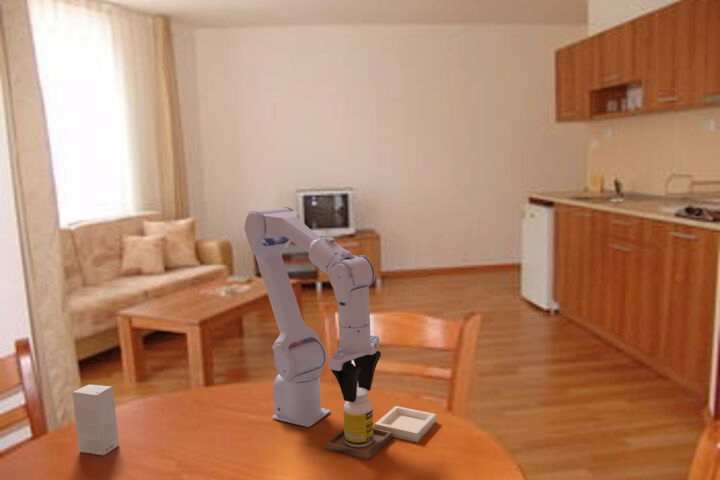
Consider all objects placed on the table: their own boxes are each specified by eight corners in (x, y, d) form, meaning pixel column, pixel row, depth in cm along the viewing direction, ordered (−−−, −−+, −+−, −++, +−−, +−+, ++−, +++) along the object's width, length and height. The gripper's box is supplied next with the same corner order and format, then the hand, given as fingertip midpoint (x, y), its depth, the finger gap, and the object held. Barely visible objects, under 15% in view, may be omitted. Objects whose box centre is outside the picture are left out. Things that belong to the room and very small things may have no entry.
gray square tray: (326, 449, 104) (326, 443, 104) (351, 428, 112) (351, 422, 112) (368, 460, 100) (368, 453, 99) (392, 438, 107) (392, 432, 107)
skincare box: (120, 445, 109) (114, 386, 107) (103, 456, 105) (96, 395, 103) (95, 441, 111) (88, 383, 109) (78, 452, 107) (71, 392, 105)
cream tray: (375, 432, 110) (374, 423, 109) (395, 414, 117) (395, 405, 117) (417, 442, 105) (417, 433, 105) (436, 422, 113) (436, 414, 113)
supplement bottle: (371, 449, 102) (369, 398, 101) (342, 448, 103) (339, 397, 102) (375, 435, 108) (373, 386, 106) (348, 433, 109) (345, 385, 107)
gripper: (352, 337, 94) (356, 414, 96) (392, 315, 107) (394, 384, 109) (317, 332, 98) (321, 407, 100) (360, 312, 110) (362, 378, 112)
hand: (357, 395), depth 104 cm, fingers open, 5 cm apart
